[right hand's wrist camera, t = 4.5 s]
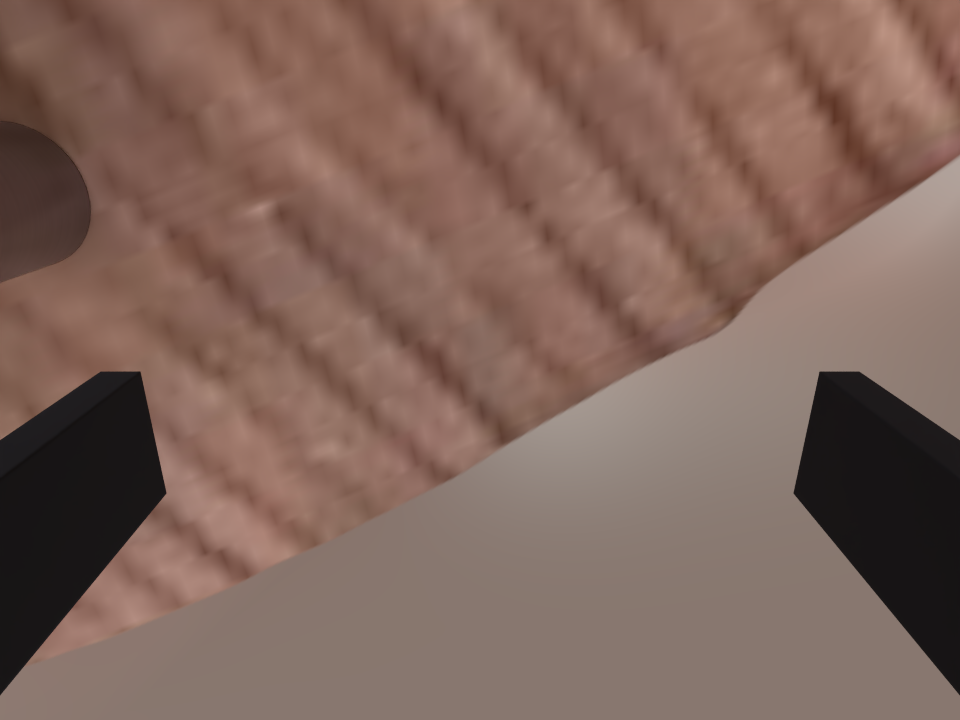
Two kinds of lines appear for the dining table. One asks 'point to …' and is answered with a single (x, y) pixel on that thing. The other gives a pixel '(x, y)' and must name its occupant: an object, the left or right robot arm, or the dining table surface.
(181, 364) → the dining table surface
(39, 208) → the jar
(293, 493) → the dining table surface
